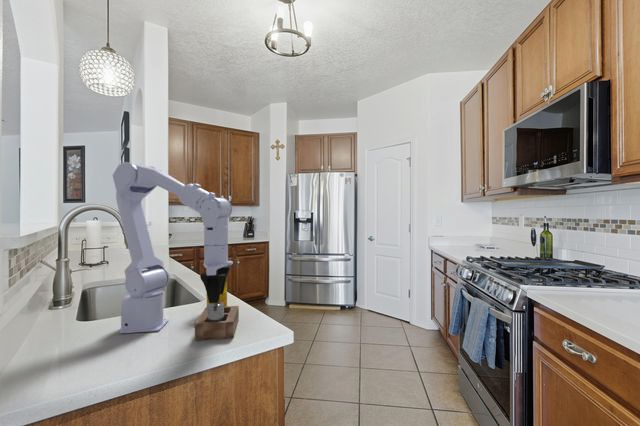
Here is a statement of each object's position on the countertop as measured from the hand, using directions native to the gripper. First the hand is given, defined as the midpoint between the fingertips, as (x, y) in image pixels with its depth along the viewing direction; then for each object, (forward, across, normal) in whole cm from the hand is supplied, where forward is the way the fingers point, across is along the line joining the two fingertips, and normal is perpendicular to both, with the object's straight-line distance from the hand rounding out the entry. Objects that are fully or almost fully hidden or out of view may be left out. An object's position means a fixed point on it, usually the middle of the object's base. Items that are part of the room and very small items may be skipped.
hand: (216, 298), depth 78 cm
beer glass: (+9, +19, +3) cm, 21 cm away
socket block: (+9, +3, 0) cm, 9 cm away
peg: (+8, 0, 0) cm, 9 cm away
